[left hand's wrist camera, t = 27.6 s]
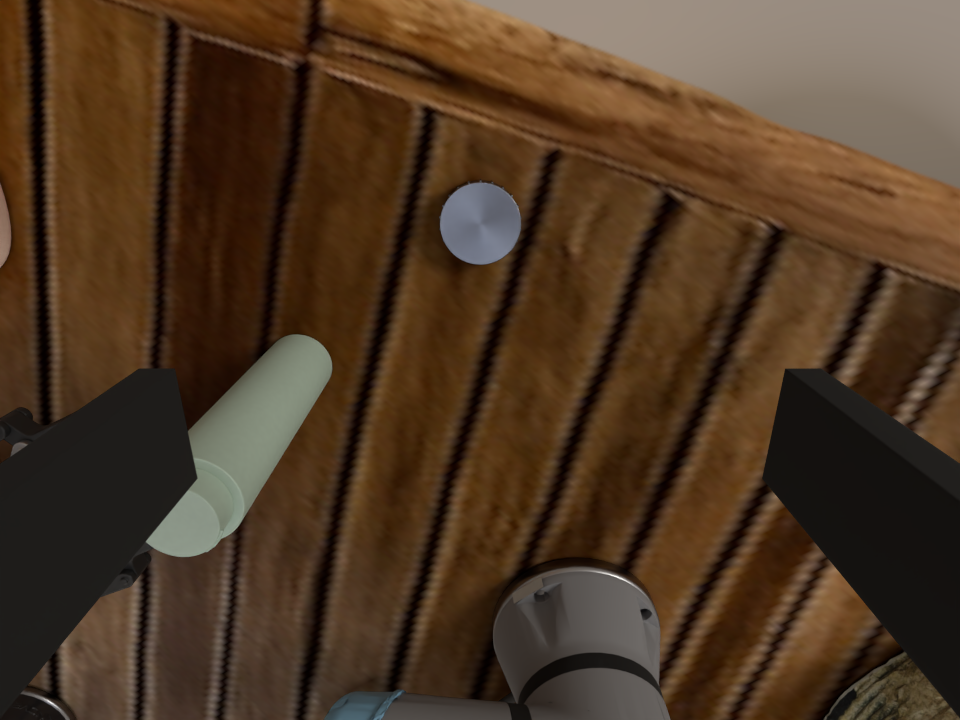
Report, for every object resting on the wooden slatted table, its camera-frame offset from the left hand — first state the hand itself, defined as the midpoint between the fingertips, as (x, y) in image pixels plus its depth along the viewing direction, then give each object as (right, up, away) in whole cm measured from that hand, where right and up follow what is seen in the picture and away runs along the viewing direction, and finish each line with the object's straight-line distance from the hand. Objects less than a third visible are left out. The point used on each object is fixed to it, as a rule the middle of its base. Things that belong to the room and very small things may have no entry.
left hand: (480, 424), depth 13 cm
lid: (0, +11, +27) cm, 29 cm away
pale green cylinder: (-14, +1, +32) cm, 35 cm away
